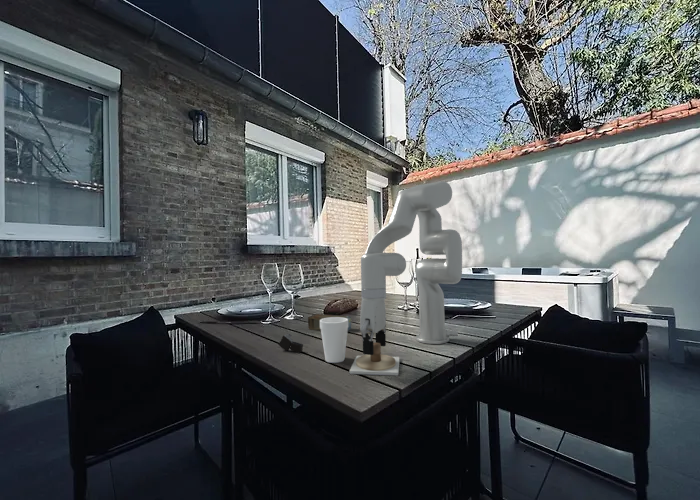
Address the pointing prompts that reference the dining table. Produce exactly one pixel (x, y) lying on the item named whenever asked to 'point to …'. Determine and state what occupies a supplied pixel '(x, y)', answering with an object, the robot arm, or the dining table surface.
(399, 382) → the dining table surface
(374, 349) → the lid
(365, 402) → the dining table surface
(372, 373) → the mat
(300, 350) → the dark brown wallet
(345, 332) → the foam cup
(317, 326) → the beverage carton
